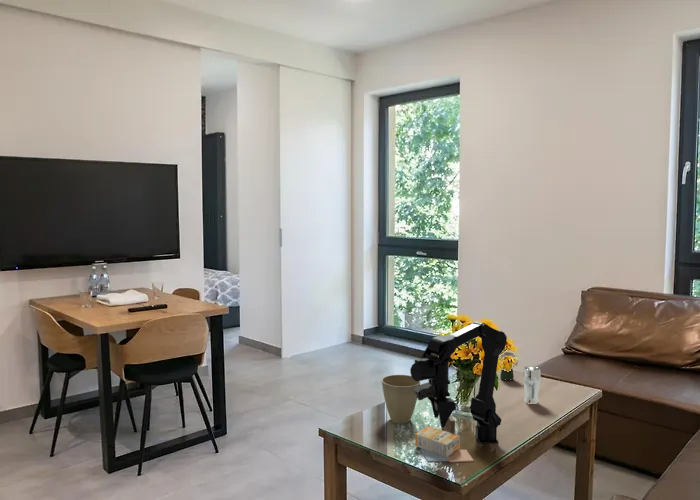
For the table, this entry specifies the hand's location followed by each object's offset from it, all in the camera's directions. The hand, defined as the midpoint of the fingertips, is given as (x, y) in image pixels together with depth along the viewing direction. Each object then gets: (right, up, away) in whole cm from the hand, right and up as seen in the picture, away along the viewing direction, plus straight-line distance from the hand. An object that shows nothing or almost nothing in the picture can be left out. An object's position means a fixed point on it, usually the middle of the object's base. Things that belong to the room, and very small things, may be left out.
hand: (439, 422), depth 182 cm
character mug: (+46, -6, +82) cm, 95 cm away
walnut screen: (+5, -10, +13) cm, 18 cm away
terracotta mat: (+6, -11, -1) cm, 13 cm away
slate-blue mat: (0, -11, +1) cm, 11 cm away
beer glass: (+47, -8, +50) cm, 70 cm away
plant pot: (-10, -9, +31) cm, 34 cm away
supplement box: (-5, -8, +9) cm, 13 cm away
